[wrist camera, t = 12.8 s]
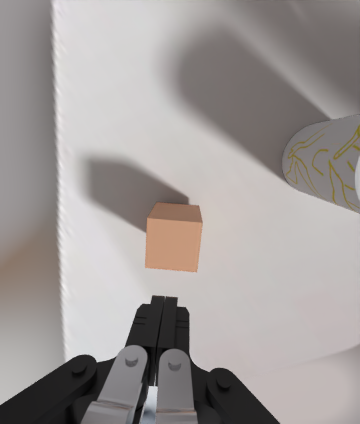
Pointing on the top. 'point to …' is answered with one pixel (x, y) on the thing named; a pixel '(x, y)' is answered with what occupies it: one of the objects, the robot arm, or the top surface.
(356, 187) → the white round cylinder
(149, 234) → the tan cardboard box
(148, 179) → the top surface
